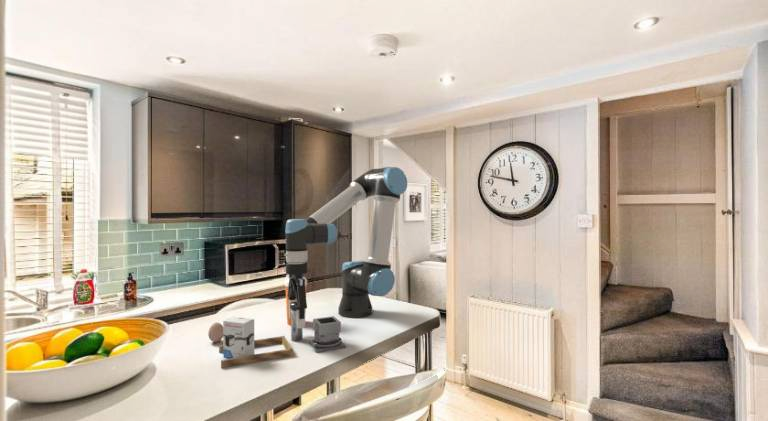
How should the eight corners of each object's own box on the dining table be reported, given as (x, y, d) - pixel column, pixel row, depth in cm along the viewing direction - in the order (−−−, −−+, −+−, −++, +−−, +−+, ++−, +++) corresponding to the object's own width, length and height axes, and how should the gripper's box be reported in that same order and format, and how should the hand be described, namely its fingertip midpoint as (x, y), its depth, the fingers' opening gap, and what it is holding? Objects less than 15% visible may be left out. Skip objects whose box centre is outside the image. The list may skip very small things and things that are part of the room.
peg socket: (336, 338, 137) (336, 314, 137) (345, 347, 128) (345, 322, 128) (308, 342, 132) (308, 318, 132) (316, 352, 123) (316, 326, 123)
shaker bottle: (302, 327, 149) (301, 276, 149) (280, 325, 151) (280, 275, 151) (310, 320, 158) (310, 272, 158) (290, 319, 160) (290, 271, 160)
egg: (216, 345, 130) (216, 325, 130) (205, 343, 132) (204, 324, 132) (227, 340, 135) (227, 321, 135) (216, 338, 137) (216, 319, 137)
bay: (284, 341, 134) (284, 335, 134) (292, 355, 121) (292, 349, 121) (219, 351, 125) (219, 345, 125) (221, 367, 112) (221, 361, 112)
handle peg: (302, 336, 139) (301, 301, 139) (305, 340, 135) (305, 304, 134) (288, 338, 137) (288, 302, 137) (291, 342, 132) (291, 305, 132)
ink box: (222, 357, 120) (222, 320, 120) (233, 351, 125) (233, 316, 124) (244, 361, 117) (244, 323, 117) (255, 355, 122) (254, 318, 121)
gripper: (279, 258, 145) (279, 314, 145) (293, 268, 123) (293, 334, 123) (299, 257, 148) (299, 312, 148) (316, 266, 126) (316, 331, 126)
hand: (296, 322), depth 136 cm, fingers open, 12 cm apart
